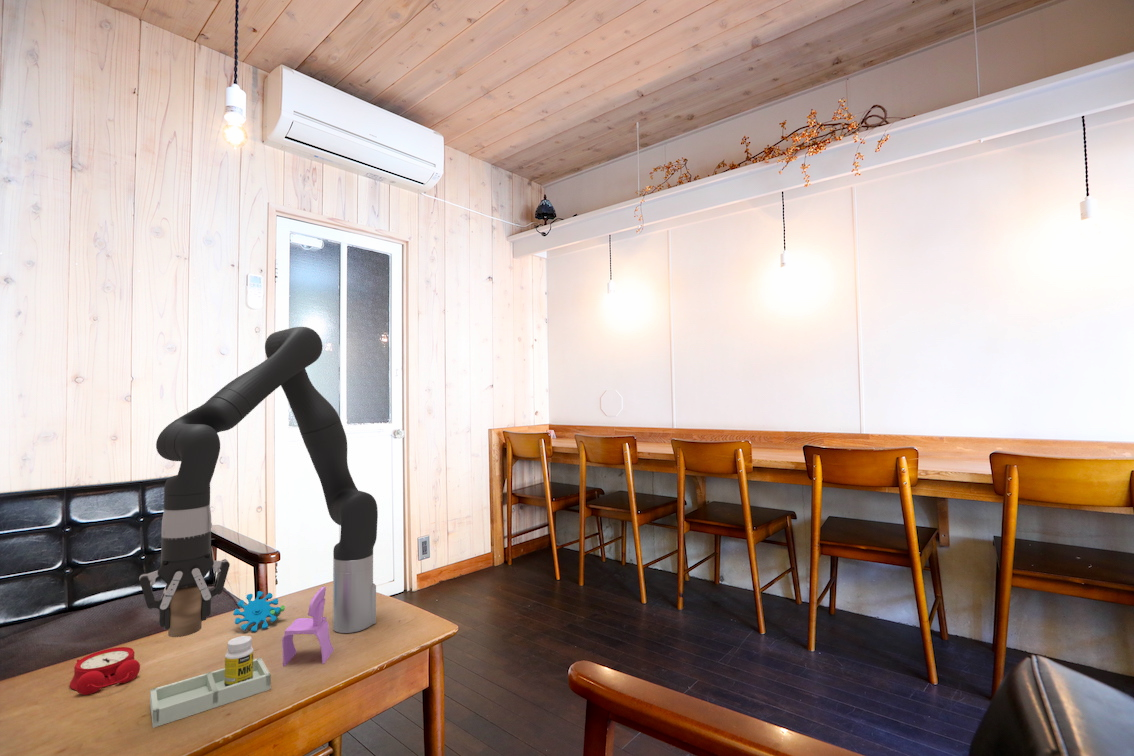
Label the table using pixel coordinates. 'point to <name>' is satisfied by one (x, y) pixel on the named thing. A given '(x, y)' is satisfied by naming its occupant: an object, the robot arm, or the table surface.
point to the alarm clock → (104, 670)
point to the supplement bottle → (239, 660)
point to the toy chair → (309, 629)
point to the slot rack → (204, 693)
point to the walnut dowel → (185, 612)
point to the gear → (258, 611)
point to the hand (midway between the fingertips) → (185, 623)
